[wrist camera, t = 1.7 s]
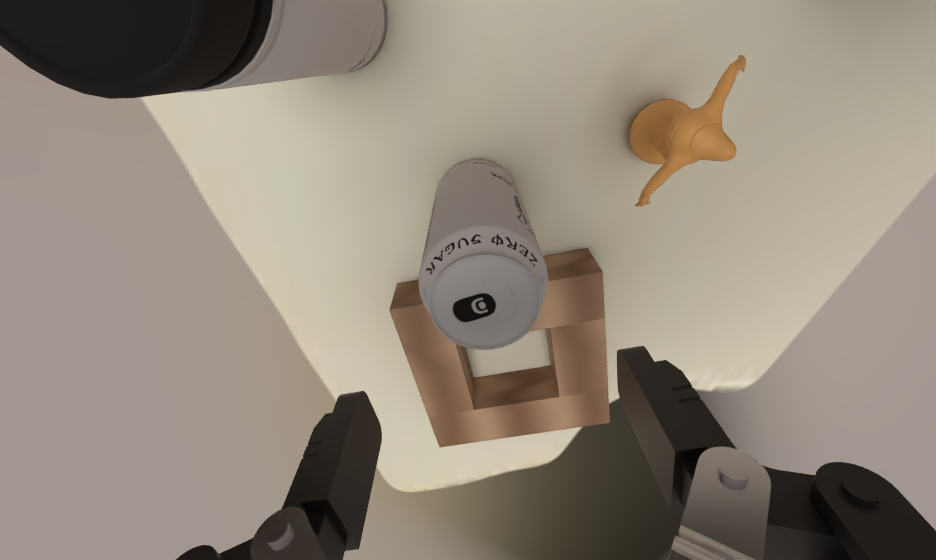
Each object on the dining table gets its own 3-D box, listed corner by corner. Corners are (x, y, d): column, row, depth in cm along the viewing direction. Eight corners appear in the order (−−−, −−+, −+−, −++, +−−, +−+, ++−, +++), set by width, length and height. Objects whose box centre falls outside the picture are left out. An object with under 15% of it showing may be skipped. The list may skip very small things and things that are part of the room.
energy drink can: (525, 219, 31) (569, 339, 18) (453, 244, 32) (445, 374, 19) (502, 144, 28) (534, 220, 15) (423, 173, 29) (390, 268, 16)
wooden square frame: (587, 248, 32) (602, 271, 29) (596, 390, 40) (609, 422, 36) (397, 283, 34) (389, 310, 30) (441, 414, 41) (439, 447, 38)
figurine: (636, 192, 30) (728, 265, 20) (568, 158, 29) (628, 216, 18) (713, 81, 26) (877, 97, 16) (639, 35, 25) (765, 21, 15)
